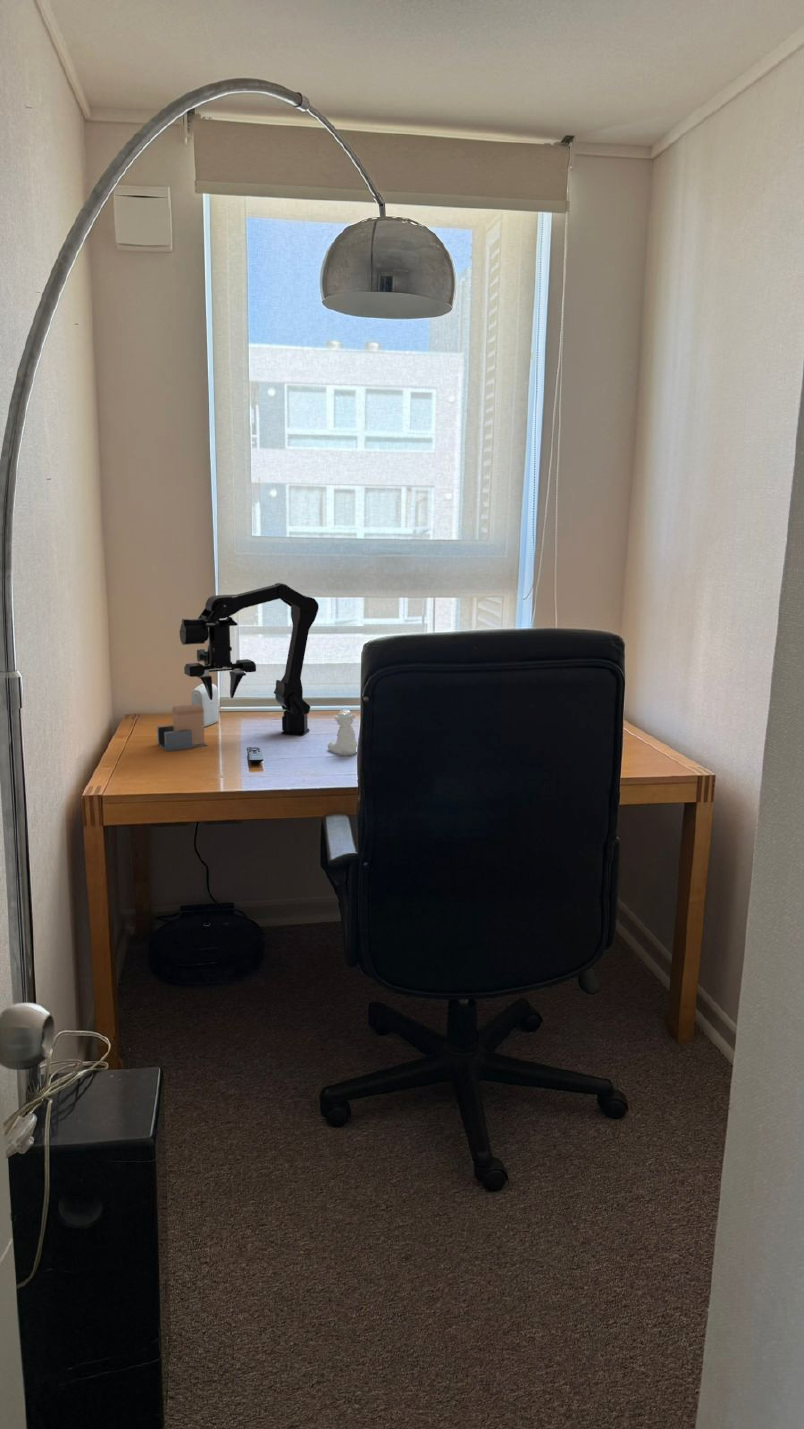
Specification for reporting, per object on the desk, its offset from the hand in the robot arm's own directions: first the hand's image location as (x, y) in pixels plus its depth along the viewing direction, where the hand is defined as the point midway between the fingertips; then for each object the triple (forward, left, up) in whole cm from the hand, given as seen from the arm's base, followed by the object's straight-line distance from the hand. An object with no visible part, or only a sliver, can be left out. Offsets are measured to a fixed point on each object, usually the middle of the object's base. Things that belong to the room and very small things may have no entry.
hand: (221, 698), depth 264 cm
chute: (+9, +7, -12) cm, 17 cm away
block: (+7, +6, -12) cm, 15 cm away
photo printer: (+12, -17, -12) cm, 25 cm away
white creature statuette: (-37, +4, -12) cm, 39 cm away
